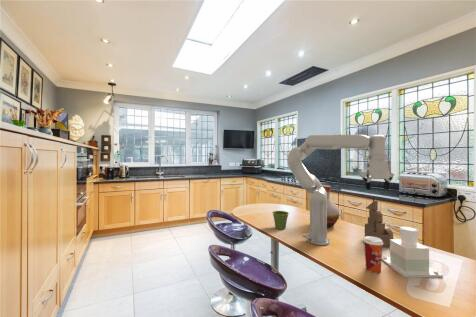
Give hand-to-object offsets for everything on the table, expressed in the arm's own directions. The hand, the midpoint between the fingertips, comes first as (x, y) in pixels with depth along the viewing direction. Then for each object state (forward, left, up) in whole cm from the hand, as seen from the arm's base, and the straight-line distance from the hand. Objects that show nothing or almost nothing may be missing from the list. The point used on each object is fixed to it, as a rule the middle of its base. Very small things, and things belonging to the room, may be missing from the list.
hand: (377, 189), depth 116 cm
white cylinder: (+3, -18, -22) cm, 29 cm away
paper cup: (-14, -20, -34) cm, 42 cm away
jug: (-13, +42, -34) cm, 55 cm away
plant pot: (-47, +36, -34) cm, 68 cm away
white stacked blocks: (+3, -18, -33) cm, 38 cm away
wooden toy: (+7, +12, -34) cm, 36 cm away
